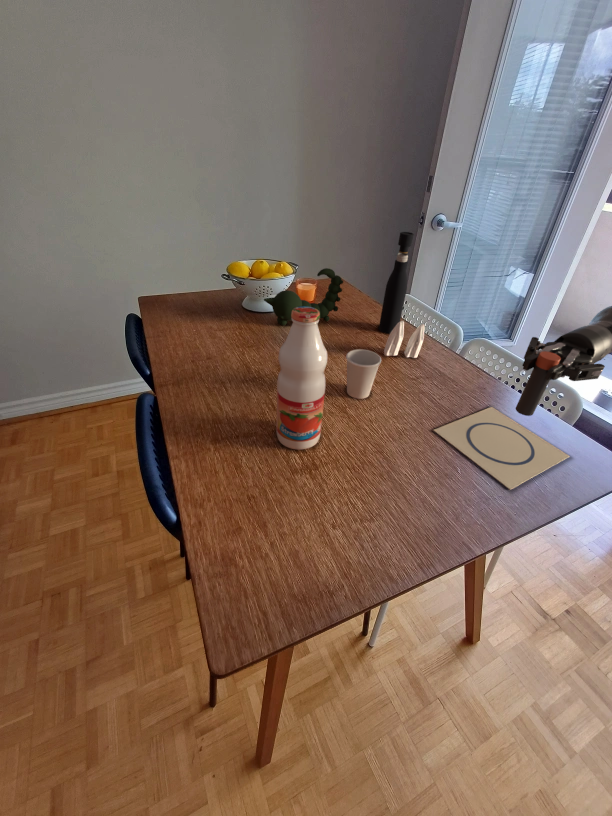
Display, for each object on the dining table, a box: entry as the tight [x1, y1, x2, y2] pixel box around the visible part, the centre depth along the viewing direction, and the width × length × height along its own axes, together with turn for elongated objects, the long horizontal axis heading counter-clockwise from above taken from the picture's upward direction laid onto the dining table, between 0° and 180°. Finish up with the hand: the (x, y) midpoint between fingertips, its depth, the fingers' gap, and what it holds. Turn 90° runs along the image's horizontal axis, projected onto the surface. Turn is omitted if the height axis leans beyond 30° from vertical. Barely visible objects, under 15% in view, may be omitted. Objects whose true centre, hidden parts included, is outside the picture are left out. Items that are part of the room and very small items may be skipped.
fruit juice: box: [275, 306, 329, 450], centre depth 76 cm, size 9×9×28 cm
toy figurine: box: [263, 267, 344, 327], centre depth 127 cm, size 9×19×25 cm
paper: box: [432, 406, 570, 491], centre depth 86 cm, size 20×20×1 cm
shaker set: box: [383, 320, 425, 359], centre depth 114 cm, size 12×4×11 cm, turn 103°
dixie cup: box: [345, 348, 382, 400], centre depth 97 cm, size 8×8×10 cm
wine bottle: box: [378, 231, 414, 335], centre depth 123 cm, size 6×6×30 cm
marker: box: [515, 351, 561, 417], centre depth 73 cm, size 3×3×12 cm
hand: (537, 370), depth 69 cm, fingers closed on marker, 3 cm apart
